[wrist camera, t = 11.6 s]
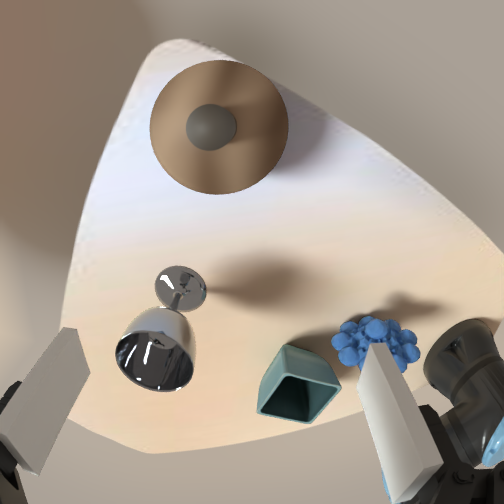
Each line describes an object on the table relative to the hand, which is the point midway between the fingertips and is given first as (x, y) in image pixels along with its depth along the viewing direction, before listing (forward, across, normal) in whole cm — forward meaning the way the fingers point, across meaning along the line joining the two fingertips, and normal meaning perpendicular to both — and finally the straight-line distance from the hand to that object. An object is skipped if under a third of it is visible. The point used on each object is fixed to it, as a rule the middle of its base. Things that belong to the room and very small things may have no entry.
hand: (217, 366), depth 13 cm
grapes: (+28, -18, +15) cm, 36 cm away
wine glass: (+27, +8, +11) cm, 31 cm away
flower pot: (+28, -8, +23) cm, 37 cm away
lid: (+21, +2, -10) cm, 23 cm away
